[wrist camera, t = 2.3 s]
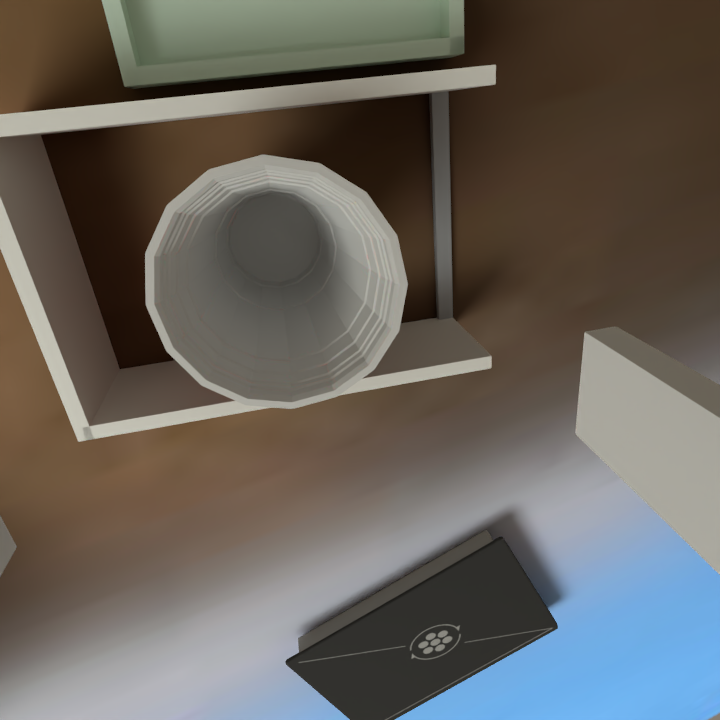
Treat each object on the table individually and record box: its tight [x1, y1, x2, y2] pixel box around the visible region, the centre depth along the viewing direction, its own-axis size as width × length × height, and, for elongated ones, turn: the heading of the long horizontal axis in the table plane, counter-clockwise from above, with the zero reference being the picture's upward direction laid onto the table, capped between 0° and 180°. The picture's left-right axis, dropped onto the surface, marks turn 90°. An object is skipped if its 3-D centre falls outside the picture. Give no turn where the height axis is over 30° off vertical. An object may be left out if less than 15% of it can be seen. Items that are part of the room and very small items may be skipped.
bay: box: [0, 65, 496, 442], centre depth 29 cm, size 23×16×7 cm
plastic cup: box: [145, 155, 408, 409], centre depth 26 cm, size 11×11×12 cm
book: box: [286, 530, 558, 720], centre depth 48 cm, size 22×15×3 cm
